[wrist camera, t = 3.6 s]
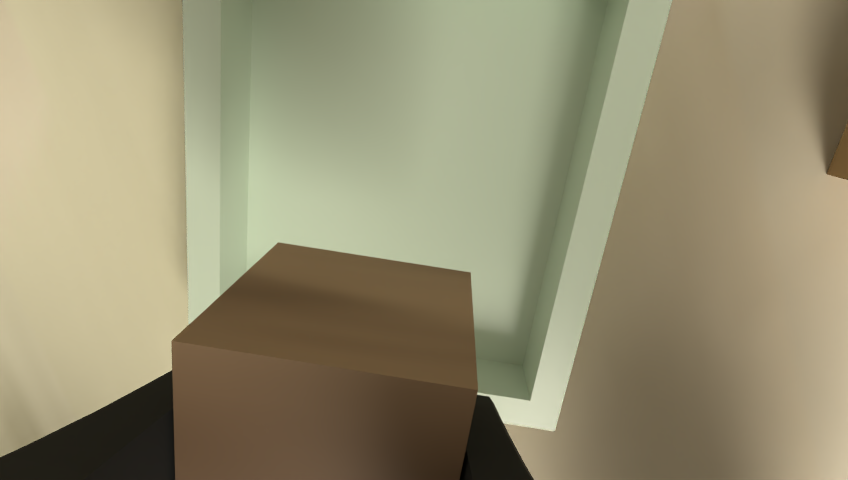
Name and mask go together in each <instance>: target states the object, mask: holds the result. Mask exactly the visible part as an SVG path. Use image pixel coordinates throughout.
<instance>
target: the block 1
mask: <svg viewBox="0 0 848 480" xmlns="http://www.w3.org/2000/svg"><path fill="white" fill-rule="evenodd" d="M172 376H173V413H174V450H175V480H459V479H460V475H461V470H462V465H463V460H464V455H465V451H466V446H467V441H468V436H469V431H470V427H471V422H472V417H473V412H474V407H475V403H476V398H477V393H478V381H477V365H476V349H475V333H474V317H473V302H472V286H471V272H465V271H459V270H452V269H446V268H439V267H433V266H427V265H420V264H414V263H407V262H401V261H395V260H388V259H382V258H375V257H369V256H363V255H356V254H350V253H344V252H337V251H331V250H324V249H318V248H312V247H305V246H299V245H292V244H286V243H280V242H278V243H277V244H276V245H275V246H274V247H273V248H272V249H270V250H269V251H268V252H267V253H266V254H265V255H264V256H263V257H262V258H261V259H260V260H259V261H257V262H256V263H255V264H254V265H253V266H252V267H251V268H250V269H249V270H248V271H247V272H246V273H244V274H243V275H242V276H241V277H240V278H239V279H238V280H237V281H236V282H235V283H234V284H233V285H232V286H230V287H229V288H228V289H227V290H226V291H225V292H224V293H223V294H222V295H221V296H220V297H219V298H217V299H216V300H215V301H214V302H213V303H212V304H211V305H210V306H209V307H208V308H207V309H206V310H204V311H203V312H202V313H201V314H200V315H199V316H198V317H197V318H196V319H195V320H194V321H193V322H191V323H190V324H189V325H188V326H187V327H186V328H185V329H184V330H183V331H182V332H181V333H180V334H178V335H177V336H176V337H175V338H174V339H173V340H172Z"/></svg>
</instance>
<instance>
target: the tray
mask: <svg viewBox="0 0 848 480" xmlns="http://www.w3.org/2000/svg"><path fill="white" fill-rule="evenodd" d="M671 4H672V0H182V6H183V59H184V112H185V164H186V217H187V270H188V323H189V324H190V323H191V322H193V321H194V320H195V319H196V318H197V317H198V316H199V315H200V314H201V313H202V312H203V311H204V310H206V309H207V308H208V307H209V306H210V305H211V304H212V303H213V302H214V301H215V300H216V299H217V298H219V297H220V296H221V295H222V294H223V293H224V292H225V291H226V290H227V289H228V288H229V287H230V286H232V285H233V284H234V283H235V282H236V281H237V280H238V279H239V278H240V277H241V276H242V275H243V274H244V273H246V272H247V271H248V270H249V269H250V268H251V267H252V266H253V265H254V264H255V263H256V262H257V261H259V260H260V259H261V258H262V257H263V256H264V255H265V254H266V253H267V252H268V251H269V250H270V249H272V248H273V247H274V246H275V245H276V244H277V243H278V242H280V243H286V244H292V245H299V246H305V247H312V248H318V249H324V250H331V251H337V252H344V253H350V254H356V255H363V256H369V257H375V258H382V259H388V260H395V261H401V262H407V263H414V264H420V265H427V266H433V267H439V268H446V269H452V270H459V271H465V272H471V286H472V302H473V317H474V333H475V349H476V365H477V381H478V393H477V395H482V396H488V397H490V398H491V400H492V401H493V403H494V404H495V407H496V409H497V411H498V413H499V415H500V417H501V420H502V422H503V423H504V424H510V425H517V426H523V427H529V428H536V429H542V430H548V431H554V432H555V429H556V425H557V421H558V418H559V414H560V410H561V407H562V403H563V399H564V396H565V392H566V388H567V385H568V381H569V377H570V374H571V370H572V366H573V363H574V359H575V355H576V352H577V348H578V344H579V341H580V337H581V333H582V330H583V326H584V322H585V319H586V315H587V311H588V308H589V304H590V300H591V297H592V293H593V289H594V286H595V282H596V278H597V275H598V271H599V267H600V264H601V260H602V256H603V253H604V249H605V245H606V242H607V238H608V234H609V231H610V227H611V223H612V220H613V216H614V212H615V209H616V205H617V201H618V198H619V194H620V190H621V187H622V183H623V179H624V176H625V172H626V168H627V165H628V161H629V157H630V154H631V150H632V146H633V143H634V139H635V136H636V132H637V128H638V125H639V121H640V117H641V114H642V110H643V106H644V103H645V99H646V95H647V92H648V88H649V84H650V81H651V77H652V73H653V70H654V66H655V62H656V59H657V55H658V51H659V48H660V44H661V40H662V37H663V33H664V29H665V26H666V22H667V18H668V15H669V11H670V7H671Z"/></svg>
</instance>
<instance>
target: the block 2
mask: <svg viewBox="0 0 848 480" xmlns="http://www.w3.org/2000/svg"><path fill="white" fill-rule="evenodd" d="M827 174H828V175H832V176H835V177H839V178H843V179H846V180H848V122H847V125H846V127H845V130H844V132H843V135H842V137H841V140H840V142H839V144H838V147H837V149H836V152H835V154H834V157H833V159H832V162H831V164H830V167H829V169H828V171H827Z"/></svg>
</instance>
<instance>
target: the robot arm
mask: <svg viewBox="0 0 848 480" xmlns="http://www.w3.org/2000/svg"><path fill="white" fill-rule="evenodd" d="M0 480H175V450H174V413H173V376H172V371H170V372H168V373H166V374H164V375H163V376H161V377H159V378H157V379H155V380H154V381H152V382H150V383H148V384H146V385H144V386H142V387H141V388H139V389H137V390H135V391H133V392H131V393H129V394H128V395H126V396H124V397H122V398H120V399H118V400H116V401H114V402H113V403H111V404H109V405H107V406H105V407H103V408H101V409H99V410H98V411H96V412H94V413H92V414H90V415H88V416H85V417H83V418H81V419H79V420H77V421H75V422H73V423H71V424H69V425H67V426H65V427H63V428H61V429H59V430H57V431H55V432H53V433H51V434H49V435H47V436H45V437H43V438H41V439H39V440H37V441H35V442H33V443H31V444H29V445H27V446H24V447H22V448H20V449H18V450H16V451H13V452H11V453H9V454H7V455H5V456H2V457H0ZM459 480H534V479H533V478H532V476H531V474H530V472H529V471H528V469H527V467H526V466H525V464H524V462H523V460H522V458H521V456H520V455H519V453H518V451H517V449H516V447H515V445H514V443H513V441H512V439H511V438H510V436H509V434H508V432H507V430H506V428H505V426H504V424H503V422H502V420H501V417H500V415H499V413H498V411H497V409H496V407H495V404H494V403H493V401H492V400H491V398H490V397H488V396H482V395H477V398H476V403H475V407H474V412H473V417H472V422H471V427H470V431H469V436H468V441H467V446H466V451H465V455H464V460H463V465H462V470H461V475H460V479H459Z"/></svg>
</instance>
